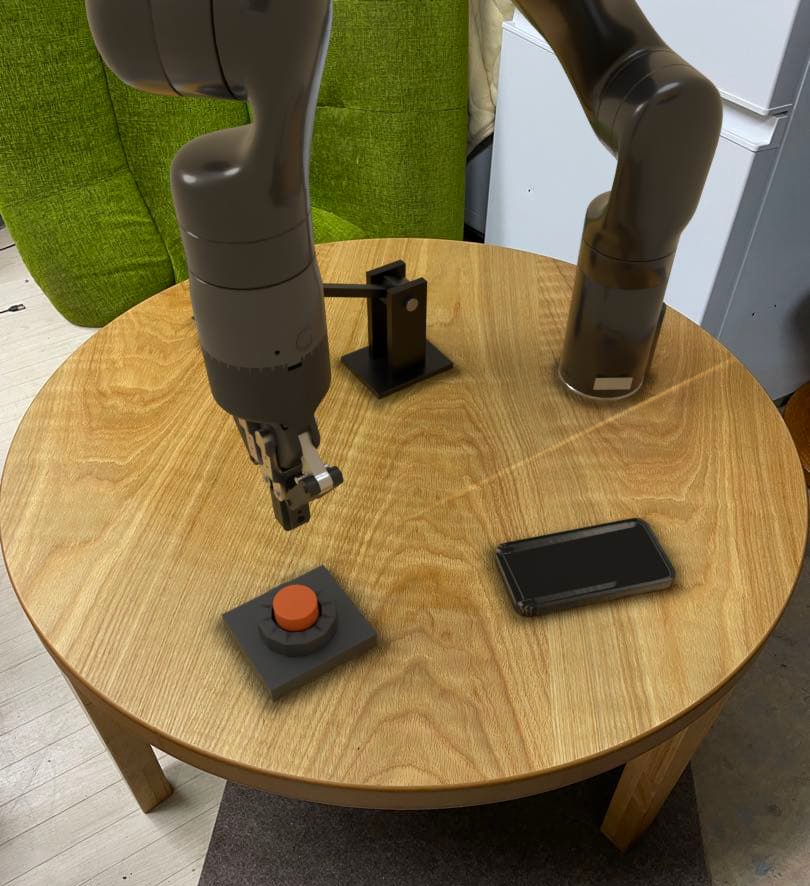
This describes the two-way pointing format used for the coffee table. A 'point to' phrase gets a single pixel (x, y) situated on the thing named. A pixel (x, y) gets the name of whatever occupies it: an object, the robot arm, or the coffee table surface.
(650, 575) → the phone
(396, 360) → the switch bracket
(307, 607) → the button
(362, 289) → the switch lever
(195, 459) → the coffee table surface
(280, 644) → the control block
